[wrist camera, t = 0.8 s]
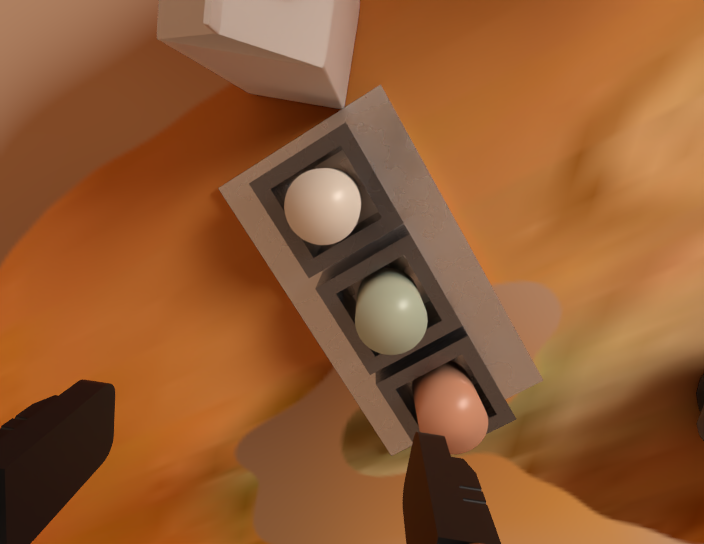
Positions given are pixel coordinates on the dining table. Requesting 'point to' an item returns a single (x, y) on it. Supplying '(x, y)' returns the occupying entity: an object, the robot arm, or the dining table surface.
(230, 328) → the dining table surface
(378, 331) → the pale green egg
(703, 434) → the pitcher
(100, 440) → the robot arm
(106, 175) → the dining table surface
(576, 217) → the dining table surface
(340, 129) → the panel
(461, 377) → the brown egg
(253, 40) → the milk carton
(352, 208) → the cream white egg
